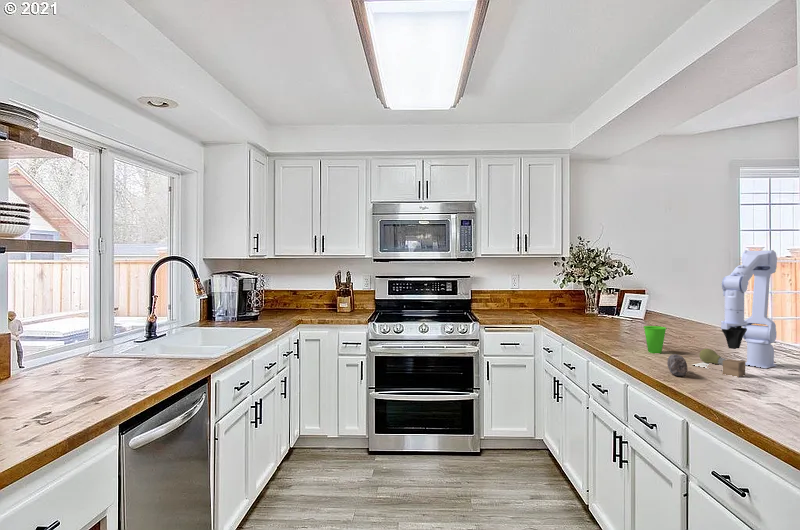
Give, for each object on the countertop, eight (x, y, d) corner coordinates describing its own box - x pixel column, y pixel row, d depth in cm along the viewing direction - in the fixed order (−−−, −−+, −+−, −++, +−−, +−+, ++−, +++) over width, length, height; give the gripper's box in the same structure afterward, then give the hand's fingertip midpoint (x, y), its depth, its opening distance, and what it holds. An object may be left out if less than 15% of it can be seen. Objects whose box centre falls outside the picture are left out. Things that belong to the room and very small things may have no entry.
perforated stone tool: (664, 368, 181) (664, 350, 181) (680, 369, 179) (680, 350, 179) (671, 377, 167) (671, 357, 167) (688, 379, 165) (688, 358, 165)
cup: (644, 353, 209) (644, 328, 209) (642, 349, 217) (642, 325, 217) (667, 355, 206) (668, 329, 205) (665, 351, 214) (665, 326, 214)
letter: (704, 362, 191) (704, 361, 191) (744, 369, 179) (744, 368, 179) (691, 365, 186) (691, 364, 186) (731, 372, 174) (731, 372, 174)
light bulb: (732, 362, 185) (705, 351, 194) (729, 353, 182) (702, 343, 191) (724, 372, 184) (697, 362, 192) (721, 364, 181) (694, 353, 190)
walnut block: (729, 372, 174) (729, 359, 174) (745, 375, 170) (745, 361, 170) (722, 374, 172) (722, 360, 171) (738, 377, 167) (738, 363, 167)
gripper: (731, 307, 178) (731, 344, 178) (711, 309, 170) (711, 348, 170) (753, 309, 172) (753, 347, 172) (733, 311, 164) (733, 351, 164)
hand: (734, 348), depth 171 cm, fingers closed
